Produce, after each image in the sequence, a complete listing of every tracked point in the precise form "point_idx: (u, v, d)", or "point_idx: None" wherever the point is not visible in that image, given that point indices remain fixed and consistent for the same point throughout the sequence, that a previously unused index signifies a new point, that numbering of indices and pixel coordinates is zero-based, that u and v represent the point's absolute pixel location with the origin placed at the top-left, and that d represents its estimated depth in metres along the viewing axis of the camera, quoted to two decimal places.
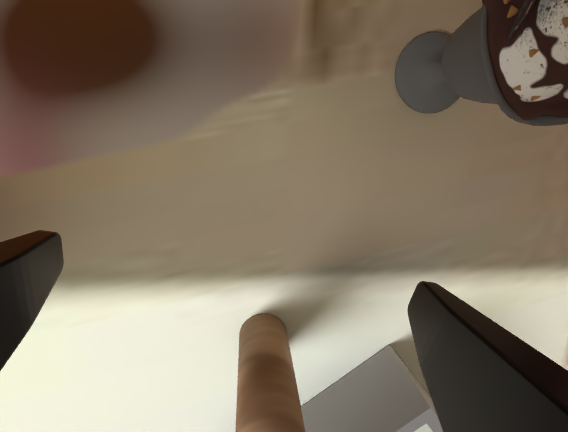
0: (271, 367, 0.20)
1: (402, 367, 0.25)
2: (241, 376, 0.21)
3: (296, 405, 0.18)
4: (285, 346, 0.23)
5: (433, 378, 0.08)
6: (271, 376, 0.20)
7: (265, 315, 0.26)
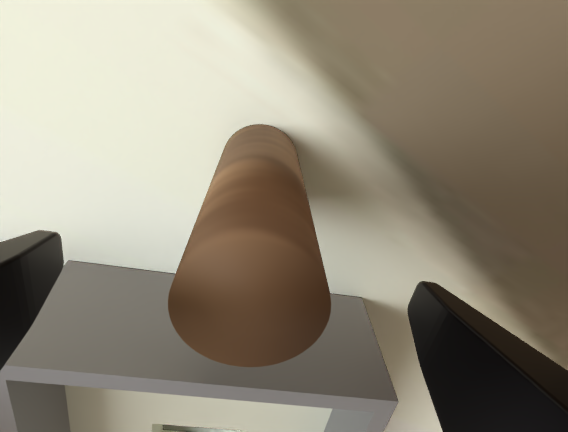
0: (302, 194, 0.11)
1: (371, 332, 0.18)
2: (243, 167, 0.11)
3: None
4: None
5: (433, 378, 0.08)
6: (303, 203, 0.10)
7: (290, 141, 0.16)
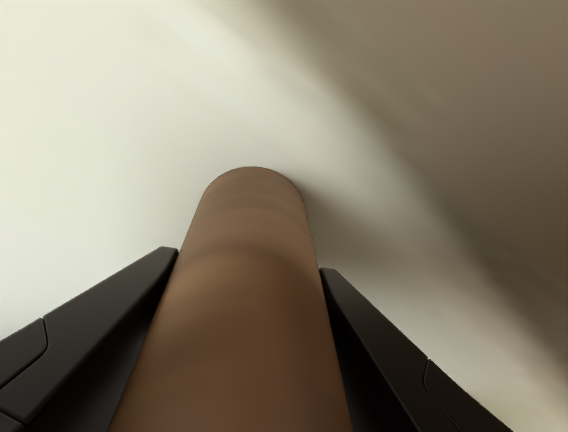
0: (323, 330, 0.06)
1: None
2: (215, 280, 0.06)
3: None
4: None
5: None
6: (328, 366, 0.05)
7: (296, 190, 0.11)
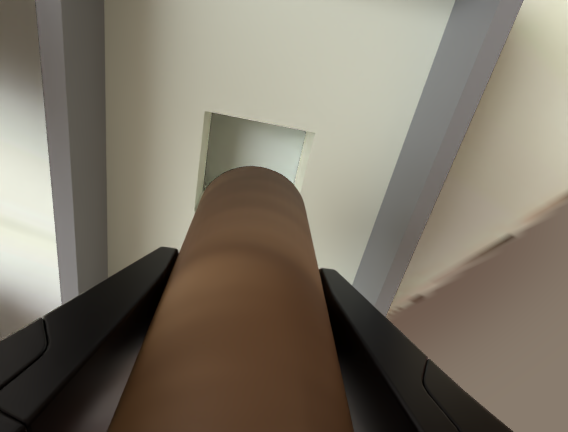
0: (324, 329, 0.06)
1: None
2: (215, 279, 0.06)
3: None
4: None
5: None
6: (329, 366, 0.05)
7: (296, 190, 0.11)
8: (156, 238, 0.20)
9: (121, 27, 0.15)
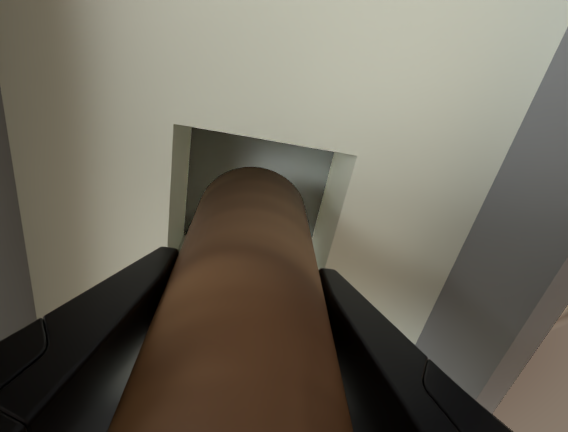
0: (324, 331, 0.06)
1: None
2: (215, 281, 0.06)
3: None
4: None
5: None
6: (329, 367, 0.05)
7: (296, 190, 0.11)
8: None
9: None
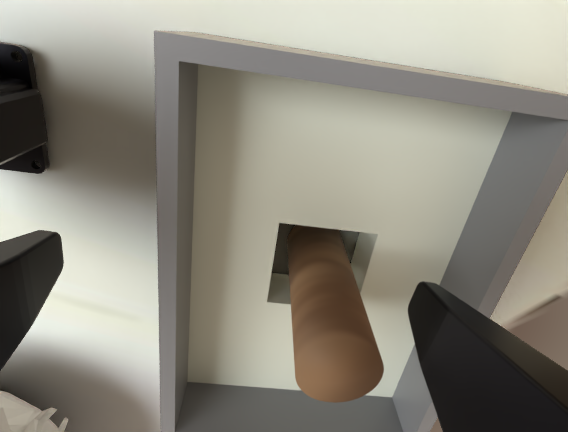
0: (356, 288, 0.17)
1: (532, 87, 0.16)
2: (318, 271, 0.17)
3: None
4: None
5: (433, 378, 0.08)
6: (359, 298, 0.16)
7: None
8: (232, 325, 0.22)
9: (209, 163, 0.17)
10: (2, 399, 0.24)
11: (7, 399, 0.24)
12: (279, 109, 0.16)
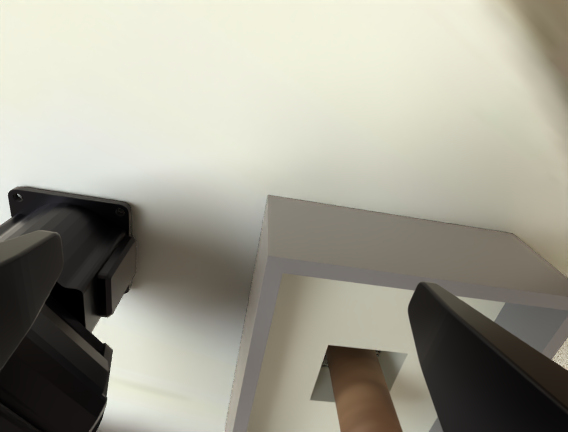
0: (394, 409, 0.21)
1: (538, 256, 0.21)
2: (363, 395, 0.21)
3: None
4: None
5: (433, 378, 0.08)
6: (397, 421, 0.20)
7: None
8: (278, 416, 0.26)
9: (277, 304, 0.21)
10: None
11: None
12: None
